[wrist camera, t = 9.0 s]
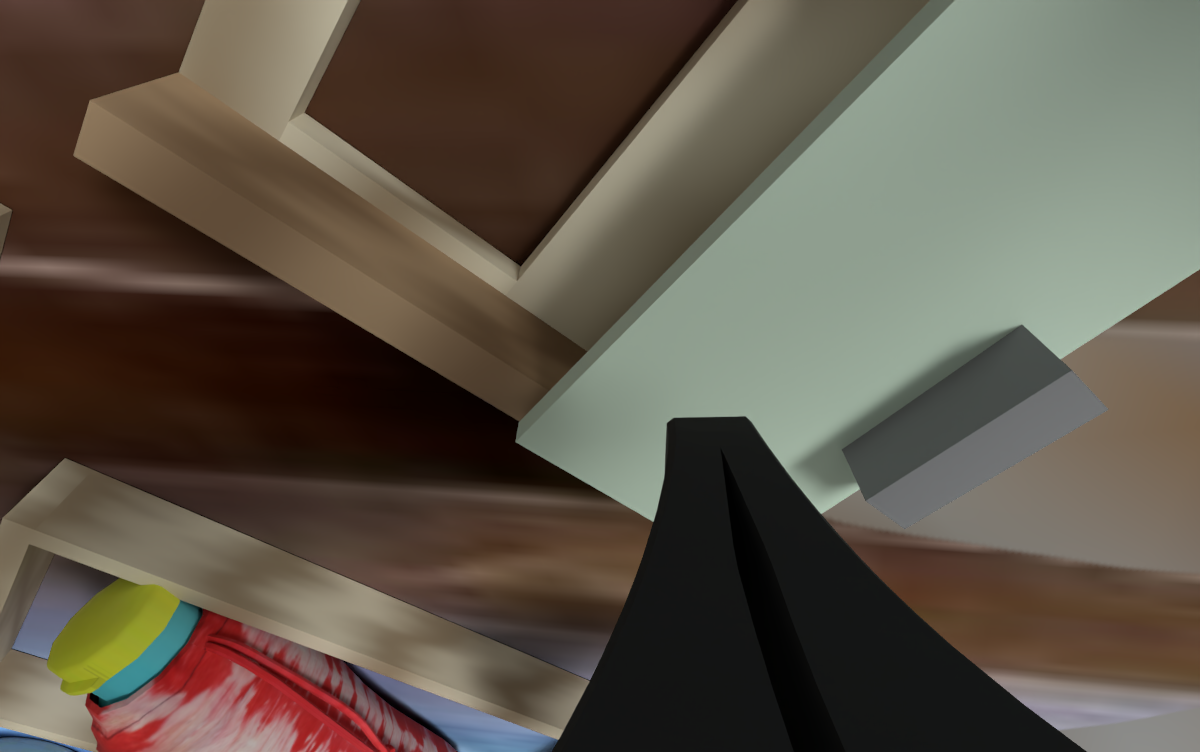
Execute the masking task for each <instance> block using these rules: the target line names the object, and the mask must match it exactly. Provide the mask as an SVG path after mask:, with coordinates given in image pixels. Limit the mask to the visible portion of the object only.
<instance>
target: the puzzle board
mask: <svg viewBox="0 0 1200 752" xmlns="http://www.w3.org/2000/svg"><path fill="white" fill-rule="evenodd" d="M929 1H930V0H738V1H737V2H736V3H735V4H734V6H733V7H732V8H731V9H730V11H729V12H728V13H727V14H726V15H725V17H724V18H723V19H722V20H721V22H720V23H719V24H718V25H717V27H716V28H715V29H714V30H713V31H712V33H711V34H710V35H709V36H708V38H707V39H706V40H705V41H704V42H703V44H702V45H701V46H700V47H699V49H698V50H697V51H696V52H695V54H694V55H693V56H692V57H691V58H690V60H689V61H688V62H687V63H686V65H685V66H684V67H683V68H682V69H681V71H680V72H679V73H678V74H677V76H676V77H675V78H674V79H673V81H672V82H671V83H670V84H669V85H668V87H667V88H666V89H665V90H664V92H663V93H662V94H661V95H660V96H659V98H658V99H657V100H656V101H655V103H654V104H653V105H652V106H651V108H650V109H649V110H648V111H647V112H646V114H645V115H644V116H643V117H642V119H641V120H640V121H639V122H638V123H637V125H636V126H635V127H634V128H633V130H632V131H631V132H630V133H629V135H628V136H627V137H626V138H625V139H624V141H623V142H622V143H621V144H620V146H619V147H618V148H617V149H616V150H615V152H614V153H613V154H612V155H611V157H610V158H609V159H608V160H607V162H606V163H605V164H604V165H603V166H602V168H601V169H600V170H599V171H598V173H597V174H596V175H595V176H594V177H593V179H592V180H591V181H590V182H589V184H588V185H587V186H586V187H585V189H584V190H583V191H582V192H581V193H580V195H579V196H578V197H577V198H576V200H575V201H574V202H573V203H572V204H571V206H570V207H569V208H568V209H567V211H566V212H565V213H564V214H563V216H562V217H561V218H560V219H559V220H558V222H557V223H556V224H555V225H554V227H553V228H552V229H551V230H550V231H549V233H548V234H547V235H546V236H545V238H544V239H543V240H542V241H541V243H540V244H539V245H538V246H537V247H536V249H535V250H534V251H533V252H532V254H531V255H530V256H529V257H528V258H527V260H526V261H525V262H524V263H523V265H522V266H519V265H518V264H516V263H515V262H514V261H512V260H511V259H509V258H508V257H507V256H505V255H504V254H502V253H501V252H500V251H498V250H497V249H495V248H494V247H493V246H491V245H490V244H488V243H487V242H486V241H484V240H483V239H481V238H480V237H478V236H477V235H476V234H474V233H473V232H471V231H470V230H469V229H467V228H466V227H464V226H463V225H462V224H460V223H459V222H457V221H456V220H455V219H453V218H452V217H450V216H449V215H448V214H446V213H445V212H443V211H442V210H441V209H439V208H438V207H436V206H435V205H434V204H432V203H431V202H429V201H428V200H426V199H425V198H424V197H422V196H421V195H419V194H418V193H417V192H415V191H414V190H412V189H411V188H410V187H408V186H407V185H405V184H404V183H403V182H401V181H400V180H398V179H397V178H396V177H394V176H393V175H391V174H390V173H389V172H387V171H386V170H384V169H383V168H382V167H380V166H379V165H377V164H376V163H374V162H373V161H372V160H370V159H369V158H367V157H366V156H365V155H363V154H362V153H360V152H359V151H358V150H356V149H355V148H353V147H352V146H351V145H349V144H348V143H346V142H345V141H344V140H342V139H341V138H339V137H338V136H337V135H335V134H334V133H332V132H331V131H330V130H328V129H327V128H325V127H324V126H323V125H321V124H320V123H318V122H317V121H315V120H314V119H313V118H311V117H310V116H308V115H307V114H306V113H304V112H305V110H306V108H307V106H308V104H309V102H310V100H311V98H312V96H313V94H314V92H315V90H316V88H317V86H318V84H319V82H320V80H321V78H322V76H323V74H324V72H325V70H326V68H327V66H328V64H329V62H330V60H331V58H332V56H333V54H334V52H335V50H336V48H337V46H338V44H339V42H340V40H341V38H342V36H343V34H344V32H345V30H346V28H347V26H348V24H349V22H350V20H351V18H352V16H353V14H354V12H355V10H356V8H357V6H358V4H359V2H360V0H205V3H204V6H203V8H202V11H201V14H200V16H199V19H198V22H197V24H196V27H195V30H194V33H193V35H192V38H191V41H190V43H189V46H188V49H187V51H186V54H185V57H184V60H183V62H182V65H181V68H180V70H179V72H178V73H175V74H172V75H169V76H166V77H162V78H159V79H156V80H153V81H150V82H146V83H143V84H140V85H137V86H134V87H131V88H127V89H124V90H121V91H118V92H115V93H111V94H108V95H105V96H102V97H99V98H95V99H92V100H90V102H89V105H88V108H87V112H86V115H85V118H84V122H83V125H82V128H81V132H80V135H79V138H78V142H77V145H76V148H75V152H74V155H73V156H75V157H77V158H78V159H80V160H82V161H83V162H85V163H87V164H88V165H90V166H92V167H93V168H95V169H97V170H98V171H100V172H102V173H103V174H105V175H107V176H108V177H110V178H112V179H113V180H115V181H117V182H118V183H120V184H122V185H123V186H125V187H127V188H129V189H130V190H132V191H134V192H135V193H137V194H139V195H140V196H142V197H144V198H145V199H147V200H149V201H150V202H152V203H154V204H155V205H157V206H159V207H160V208H162V209H164V210H165V211H167V212H169V213H170V214H172V215H174V216H176V217H177V218H179V219H181V220H182V221H184V222H186V223H187V224H189V225H191V226H192V227H194V228H196V229H197V230H199V231H201V232H202V233H204V234H206V235H207V236H209V237H211V238H212V239H214V240H216V241H217V242H219V243H221V244H223V245H224V246H226V247H228V248H229V249H231V250H233V251H234V252H236V253H238V254H239V255H241V256H243V257H244V258H246V259H248V260H249V261H251V262H253V263H254V264H256V265H258V266H259V267H261V268H263V269H264V270H266V271H268V272H270V273H271V274H273V275H275V276H276V277H278V278H280V279H281V280H283V281H285V282H286V283H288V284H290V285H291V286H293V287H295V288H296V289H298V290H300V291H301V292H303V293H305V294H306V295H308V296H310V297H311V298H313V299H315V300H316V301H318V302H320V303H322V304H323V305H325V306H327V307H328V308H330V309H332V310H333V311H335V312H337V313H338V314H340V315H342V316H343V317H345V318H347V319H348V320H350V321H352V322H353V323H355V324H357V325H358V326H360V327H362V328H363V329H365V330H367V331H369V332H370V333H372V334H374V335H375V336H377V337H379V338H380V339H382V340H384V341H385V342H387V343H389V344H390V345H392V346H394V347H395V348H397V349H399V350H400V351H402V352H404V353H405V354H407V355H409V356H410V357H412V358H414V359H416V360H417V361H419V362H421V363H422V364H424V365H426V366H427V367H429V368H431V369H432V370H434V371H436V372H437V373H439V374H441V375H442V376H444V377H446V378H447V379H449V380H451V381H452V382H454V383H456V384H457V385H459V386H461V387H462V388H464V389H466V390H468V391H469V392H471V393H473V394H474V395H476V396H478V397H479V398H481V399H483V400H484V401H486V402H488V403H489V404H491V405H493V406H494V407H496V408H498V409H499V410H501V411H503V412H504V413H506V414H508V415H509V416H511V417H513V418H515V419H516V420H518V421H520V420H521V419H522V418H523V417H524V416H525V415H526V414H527V413H528V412H529V411H530V410H531V409H532V408H533V407H534V406H535V405H536V404H537V403H538V402H539V401H540V400H541V399H542V398H543V397H544V396H545V395H546V394H547V393H548V392H549V391H550V390H551V389H552V388H553V387H554V386H555V385H556V384H557V383H558V382H559V380H560V379H561V378H562V377H563V376H564V375H565V374H566V373H567V372H568V371H569V370H570V369H571V368H572V367H573V366H574V365H575V364H576V363H577V362H578V361H579V360H580V359H581V358H582V357H583V356H584V355H585V354H586V353H587V352H588V351H589V350H590V349H591V348H592V347H593V346H594V345H595V344H596V343H597V342H598V340H599V339H600V338H601V337H602V336H603V335H604V334H605V333H606V332H607V331H608V330H609V329H610V328H611V327H612V326H613V325H614V324H615V323H616V322H617V321H618V320H619V319H620V318H621V317H622V316H623V315H624V314H625V313H626V312H627V311H628V310H629V309H630V308H631V307H632V306H633V305H634V304H635V303H636V302H637V300H638V299H639V298H640V297H641V296H642V295H643V294H644V293H645V292H646V291H647V290H648V289H649V288H650V287H651V286H652V285H653V284H654V283H655V282H656V281H657V280H658V279H659V278H660V277H661V276H662V275H663V274H664V273H665V272H666V271H667V270H668V269H669V268H670V267H671V266H672V265H673V264H674V263H675V262H676V260H677V259H678V258H679V257H680V256H681V255H682V254H683V253H684V252H685V251H686V250H687V249H688V248H689V247H690V246H691V245H692V244H693V243H694V242H695V241H696V240H697V239H698V238H699V237H700V236H701V235H702V234H703V233H704V232H705V231H706V230H707V229H708V228H709V227H710V226H711V225H712V224H713V223H714V222H715V220H716V219H717V218H718V217H719V216H720V215H721V214H722V213H723V212H724V211H725V210H726V209H727V208H728V207H729V206H730V205H731V204H732V203H733V202H734V201H735V200H736V199H737V198H738V197H739V196H740V195H741V194H742V193H743V192H744V191H745V190H746V189H747V188H748V187H749V186H750V185H751V184H752V183H753V182H754V181H755V179H756V178H757V177H758V176H759V175H760V174H761V173H762V172H763V171H764V170H765V169H766V168H767V167H768V166H769V165H770V164H771V163H772V162H773V161H774V160H775V159H776V158H777V157H778V156H779V155H780V154H781V153H782V152H783V151H784V150H785V149H786V148H787V147H788V146H789V145H790V144H791V143H792V142H793V141H794V139H795V138H796V137H797V136H798V135H799V134H800V133H801V132H802V131H803V130H804V129H805V128H806V127H807V126H808V125H809V124H810V123H811V122H812V121H813V120H814V119H815V118H816V117H817V116H818V115H819V114H820V113H821V112H822V111H823V110H824V109H825V108H826V107H827V106H828V105H829V104H830V103H831V102H832V101H833V99H834V98H835V97H836V96H837V95H838V94H839V93H840V92H841V91H842V90H843V89H844V88H845V87H846V86H847V85H848V84H849V83H850V82H851V81H852V80H853V79H854V78H855V77H856V76H857V75H858V74H859V73H860V72H861V71H862V70H863V69H864V68H865V67H866V66H867V65H868V64H869V63H870V62H871V61H872V59H873V58H874V57H875V56H876V55H877V54H878V53H879V52H880V51H881V50H882V49H883V48H884V47H885V46H886V45H887V44H888V43H889V42H890V41H891V40H892V39H893V38H894V37H895V36H896V35H897V34H898V33H899V32H900V31H901V30H902V29H903V28H904V27H905V26H906V25H907V24H908V23H909V22H910V21H911V19H912V18H913V17H914V16H915V15H916V14H917V13H918V12H919V11H920V10H921V9H922V8H923V7H924V6H925V5H926V4H927V3H928V2H929Z"/></svg>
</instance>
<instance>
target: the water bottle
mask: <svg viewBox="0 0 1200 752" xmlns="http://www.w3.org/2000/svg"><path fill="white" fill-rule="evenodd" d="M47 668H48V669H49V670H50V671H51V672H53V673H54V674H55V675H57V676H58V677H60V678H61V679H63V680H62V683H61V687H60V690H61V691H63V692H65V693H66V694H68V695H70V696H78V695H83V694H87V698H86V703H85V706H86V708H87V709H88V711H89V713H90V715H91V717H92V718H93V720H92V725H91V730H92V732H93V734H94V737H95V739H96V741H97V747H96V750H97V751H98V752H457V751H456V750H455V749H454V748H453V747H452V746H451V745H450V744H448V743H447V742H446V741H445V740H444V739H442V738H441V737H439V736H437V735H436V734H434V733H433V732H431V731H430V730H428V729H426V728H425V727H423V726H422V725H420V724H418V723H417V722H415V721H414V720H412V719H411V718H409V717H407V716H406V715H404V714H403V713H401V712H399V711H398V710H396V709H395V708H393V707H392V706H390V705H389V704H388V703H387V702H386V701H384V700H383V699H382V698H381V697H380V696H378V695H377V694H376V693H375V692H373V691H372V690H371V689H370V688H369V687H367V686H366V685H365V684H364V683H363V682H362V681H361V680H360V679H359V678H358V677H357V676H356V674H355V673H354V672H353V671H352V670H351V669H350V668H349V667H348V666H347V665H346V664H345V663H344V661H343V660H341V659H339V658H336V657H333V656H331V655H328V654H325V653H322V652H320V651H317V650H314V649H312V648H309V647H306V646H303V645H301V644H298V643H295V642H293V641H290V640H287V639H285V638H282V637H279V636H276V635H274V634H271V633H268V632H266V631H263V630H260V629H258V628H255V627H252V626H249V625H247V624H244V623H241V622H239V621H236V620H233V619H230V618H228V617H225V616H222V615H220V614H217V613H214V612H212V611H209V610H206V609H203V608H201V607H198V606H195V605H193V604H190V603H187V602H185V601H182V600H179V599H178V598H177V597H175V596H174V595H172V594H171V593H170V592H168V591H167V590H166V589H164V588H163V587H161V586H159V585H155V584H151V585H139V584H136V583H133V582H130V581H128V580H125V579H122V578H119V579H117V580H116V581H114V582H113V583H112V584H110V585H109V586H107V587H106V588H104V589H103V590H101V591H100V592H98V593H97V594H96V595H95V596H94V597H93V598H92V599H91V600H90V601H89V602H87V603H86V604H85V605H84V606H83V607H82V608H81V609H80V610H79V611H78V612H77V613H76V614H75V615H74V616H73V617H72V618H71V619H70V620H69V622H68V623H67V625H66V626H65V627H64V629H63V630H62V631H61V633H60V634H59V635H58V637H57V638H56V640H55V641H54V642H53V644H52V648H51V651H50V655H49V658H48V661H47Z"/></svg>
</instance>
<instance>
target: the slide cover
mask: <svg viewBox="0 0 1200 752" xmlns="http://www.w3.org/2000/svg"><path fill="white" fill-rule="evenodd" d="M1199 269H1200V0H930V1H929V2H928V3H927V4H926V5H925V6H924V7H923V8H922V9H921V10H920V11H919V12H918V13H917V14H916V15H915V16H914V17H913V18H912V19H911V21H910V22H909V23H908V24H907V25H906V26H905V27H904V28H903V29H902V30H901V31H900V32H899V33H898V34H897V35H896V36H895V37H894V38H893V39H892V40H891V41H890V42H889V43H888V44H887V45H886V46H885V47H884V48H883V49H882V50H881V51H880V52H879V53H878V54H877V55H876V56H875V57H874V58H873V59H872V61H871V62H870V63H869V64H868V65H867V66H866V67H865V68H864V69H863V70H862V71H861V72H860V73H859V74H858V75H857V76H856V77H855V78H854V79H853V80H852V81H851V82H850V83H849V84H848V85H847V86H846V87H845V88H844V89H843V90H842V91H841V92H840V93H839V94H838V95H837V96H836V97H835V98H834V99H833V101H832V102H831V103H830V104H829V105H828V106H827V107H826V108H825V109H824V110H823V111H822V112H821V113H820V114H819V115H818V116H817V117H816V118H815V119H814V120H813V121H812V122H811V123H810V124H809V125H808V126H807V127H806V128H805V129H804V130H803V131H802V132H801V133H800V134H799V135H798V136H797V137H796V138H795V139H794V141H793V142H792V143H791V144H790V145H789V146H788V147H787V148H786V149H785V150H784V151H783V152H782V153H781V154H780V155H779V156H778V157H777V158H776V159H775V160H774V161H773V162H772V163H771V164H770V165H769V166H768V167H767V168H766V169H765V170H764V171H763V172H762V173H761V174H760V175H759V176H758V177H757V178H756V179H755V181H754V182H753V183H752V184H751V185H750V186H749V187H748V188H747V189H746V190H745V191H744V192H743V193H742V194H741V195H740V196H739V197H738V198H737V199H736V200H735V201H734V202H733V203H732V204H731V205H730V206H729V207H728V208H727V209H726V210H725V211H724V212H723V213H722V214H721V215H720V216H719V217H718V218H717V219H716V220H715V222H714V223H713V224H712V225H711V226H710V227H709V228H708V229H707V230H706V231H705V232H704V233H703V234H702V235H701V236H700V237H699V238H698V239H697V240H696V241H695V242H694V243H693V244H692V245H691V246H690V247H689V248H688V249H687V250H686V251H685V252H684V253H683V254H682V255H681V256H680V257H679V258H678V259H677V260H676V262H675V263H674V264H673V265H672V266H671V267H670V268H669V269H668V270H667V271H666V272H665V273H664V274H663V275H662V276H661V277H660V278H659V279H658V280H657V281H656V282H655V283H654V284H653V285H652V286H651V287H650V288H649V289H648V290H647V291H646V292H645V293H644V294H643V295H642V296H641V297H640V298H639V299H638V300H637V302H636V303H635V304H634V305H633V306H632V307H631V308H630V309H629V310H628V311H627V312H626V313H625V314H624V315H623V316H622V317H621V318H620V319H619V320H618V321H617V322H616V323H615V324H614V325H613V326H612V327H611V328H610V329H609V330H608V331H607V332H606V333H605V334H604V335H603V336H602V337H601V338H600V339H599V340H598V342H597V343H596V344H595V345H594V346H593V347H592V348H591V349H590V350H589V351H588V352H587V353H586V354H585V355H584V356H583V357H582V358H581V359H580V360H579V361H578V362H577V363H576V364H575V365H574V366H573V367H572V368H571V369H570V370H569V371H568V372H567V373H566V374H565V375H564V376H563V377H562V378H561V379H560V380H559V382H558V383H557V384H556V385H555V386H554V387H553V388H552V389H551V390H550V391H549V392H548V393H547V394H546V395H545V396H544V397H543V398H542V399H541V400H540V401H539V402H538V403H537V404H536V405H535V406H534V407H533V408H532V409H531V410H530V411H529V412H528V413H527V414H526V415H525V416H524V417H523V418H522V419H521V420H520V422H519V424H518V430H517V436H516V441H515V442H516V443H518V444H520V445H522V446H523V447H525V448H527V449H529V450H530V451H532V452H534V453H535V454H537V455H539V456H541V457H542V458H544V459H546V460H548V461H549V462H551V463H553V464H554V465H556V466H558V467H560V468H561V469H563V470H565V471H567V472H568V473H570V474H572V475H573V476H575V477H577V478H579V479H580V480H582V481H584V482H586V483H587V484H589V485H591V486H592V487H594V488H596V489H598V490H599V491H601V492H603V493H605V494H606V495H608V496H610V497H611V498H613V499H615V500H617V501H618V502H620V503H622V504H624V505H625V506H627V507H629V508H630V509H632V510H634V511H636V512H637V513H639V514H641V515H643V516H644V517H646V518H648V519H649V520H651V521H653V522H654V519H655V515H656V512H657V507H658V503H659V499H660V494H661V490H662V485H663V481H664V474H665V451H666V428H667V422H669V421H670V420H671V419H673V418H683V417H737V416H746V417H747V418H748V419H749V420H750V421H751V422H752V423H753V425H754V426H755V428H756V429H757V431H758V432H759V434H760V435H761V437H762V438H763V440H764V441H765V442H766V444H767V445H768V447H769V448H770V449H771V451H772V452H773V454H774V455H775V456H776V458H777V459H778V460H779V462H780V463H781V464H782V466H783V467H784V468H785V470H786V471H787V472H788V474H789V475H790V476H791V478H792V479H793V480H794V481H795V483H796V484H797V485H798V487H799V488H800V489H801V490H802V492H803V493H804V494H805V495H806V496H807V498H808V499H809V500H810V501H811V503H812V504H813V505H814V506H815V507H816V509H817V510H818V511H819V512H820V513H821V514H822V513H824V512H825V511H827V510H828V509H830V508H831V507H833V506H834V505H836V504H837V503H839V502H840V501H842V500H843V499H845V498H847V497H848V496H850V495H851V494H853V493H854V492H856V491H858V490H859V489H860V490H861V492H862V494H863V496H864V498H865V501H867V502H868V503H869V504H871V505H872V506H873V507H875V508H876V509H877V510H879V511H880V512H882V513H883V514H884V515H886V516H887V517H889V518H890V519H891V520H893V521H894V522H895V523H897V524H898V525H900V526H901V527H902V528H904V529H906V528H907V527H909V526H911V525H912V524H914V523H916V522H917V521H919V520H921V519H923V518H924V517H926V516H928V515H930V514H931V513H933V512H935V511H936V510H938V509H939V508H941V507H943V506H945V505H947V504H948V503H950V502H952V501H953V500H955V499H957V498H958V497H960V496H962V495H964V494H965V493H967V492H969V491H970V490H972V489H974V488H976V487H977V486H979V485H981V484H982V483H984V482H986V481H988V480H989V479H991V478H993V477H994V476H996V475H998V474H999V473H1001V472H1003V471H1005V470H1006V469H1008V468H1010V467H1011V466H1013V465H1015V464H1016V463H1018V462H1020V461H1022V460H1023V459H1025V458H1026V457H1028V456H1030V455H1032V454H1034V453H1035V452H1037V451H1039V450H1040V449H1042V448H1043V447H1046V446H1047V445H1049V444H1051V443H1052V442H1054V441H1056V440H1057V439H1059V438H1061V437H1062V436H1064V435H1066V434H1068V433H1069V432H1071V431H1073V430H1075V429H1076V428H1078V427H1080V426H1081V425H1083V424H1085V423H1086V422H1088V421H1090V420H1091V419H1093V418H1095V417H1097V416H1098V415H1100V414H1102V413H1103V412H1105V411H1107V410H1108V409H1107V407H1106V406H1105V405H1104V404H1103V403H1102V402H1101V401H1100V400H1099V399H1098V398H1097V397H1096V396H1095V395H1094V394H1093V392H1092V391H1091V390H1090V389H1089V388H1088V387H1087V386H1086V385H1085V384H1084V383H1083V382H1082V381H1081V380H1080V378H1079V377H1078V376H1077V375H1076V374H1075V373H1074V372H1073V371H1072V370H1071V369H1070V368H1069V367H1068V366H1067V365H1066V364H1065V363H1064V362H1062V361H1061V360H1060V359H1062V358H1063V357H1065V356H1066V355H1068V354H1069V353H1071V352H1072V351H1074V350H1075V349H1077V348H1079V347H1080V346H1082V345H1083V344H1085V343H1086V342H1088V341H1089V340H1091V339H1093V338H1094V337H1096V336H1097V335H1099V334H1100V333H1102V332H1103V331H1105V330H1106V329H1108V328H1110V327H1111V326H1113V325H1114V324H1116V323H1117V322H1119V321H1120V320H1122V319H1123V318H1125V317H1127V316H1128V315H1130V314H1131V313H1133V312H1134V311H1136V310H1137V309H1139V308H1140V307H1142V306H1144V305H1145V304H1147V303H1148V302H1150V301H1151V300H1153V299H1154V298H1156V297H1157V296H1159V295H1161V294H1162V293H1164V292H1165V291H1167V290H1168V289H1170V288H1171V287H1173V286H1174V285H1176V284H1178V283H1179V282H1181V281H1182V280H1184V279H1185V278H1187V277H1188V276H1190V275H1192V274H1193V273H1195V272H1196V271H1198V270H1199Z"/></svg>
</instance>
